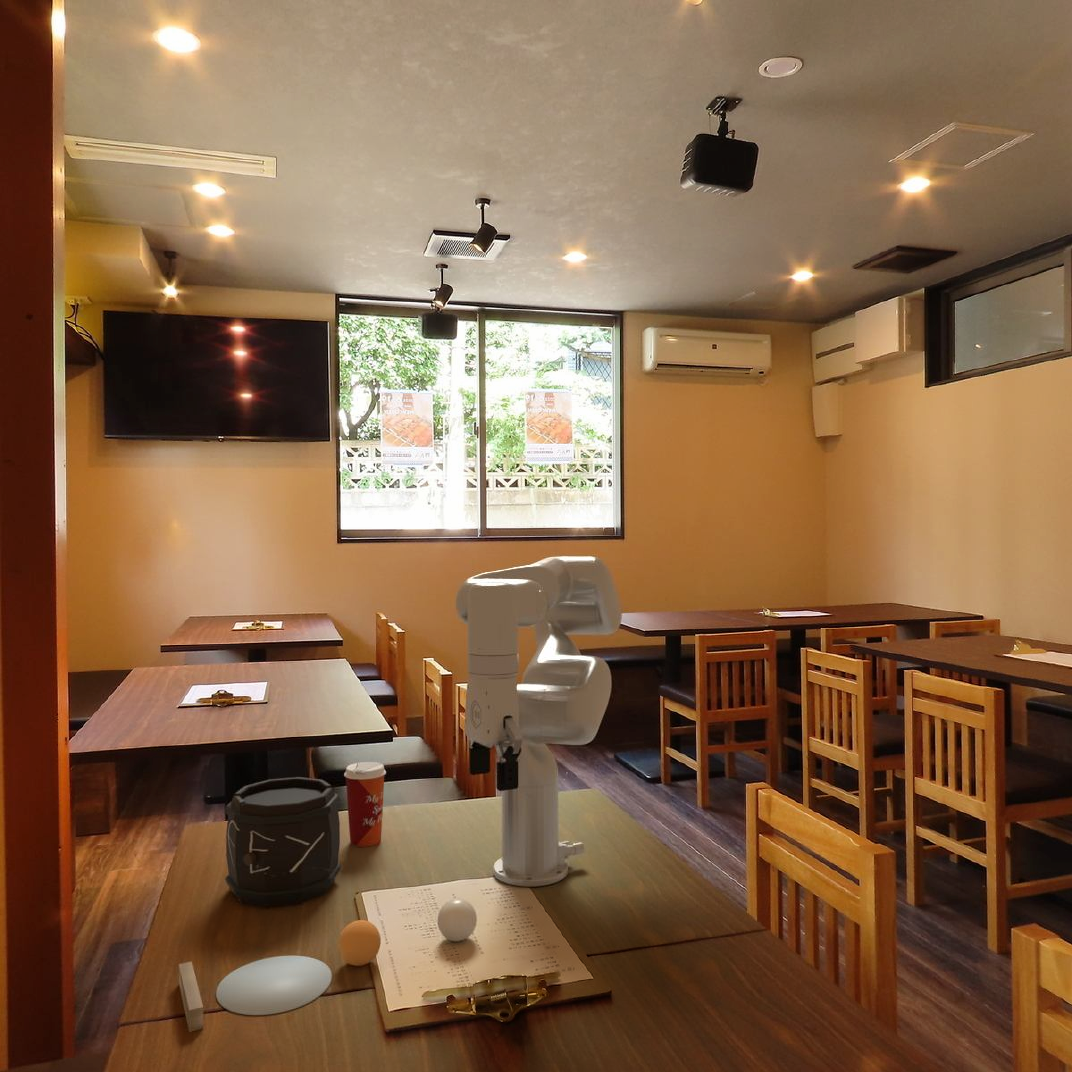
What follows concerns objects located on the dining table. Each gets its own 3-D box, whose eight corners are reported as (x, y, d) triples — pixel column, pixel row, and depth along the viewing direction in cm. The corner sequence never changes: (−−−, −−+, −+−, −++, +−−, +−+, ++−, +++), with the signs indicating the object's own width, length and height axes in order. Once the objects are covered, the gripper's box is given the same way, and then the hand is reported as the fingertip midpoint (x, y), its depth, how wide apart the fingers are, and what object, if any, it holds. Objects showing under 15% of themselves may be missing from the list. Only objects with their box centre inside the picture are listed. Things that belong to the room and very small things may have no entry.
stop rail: (191, 981, 109) (191, 961, 109) (203, 1028, 99) (203, 1006, 99) (179, 984, 109) (178, 964, 109) (189, 1032, 98) (189, 1010, 98)
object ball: (373, 949, 117) (373, 909, 117) (386, 967, 112) (386, 925, 112) (333, 959, 115) (333, 918, 115) (345, 977, 110) (344, 935, 110)
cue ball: (467, 927, 124) (467, 889, 124) (483, 942, 119) (482, 903, 119) (431, 935, 121) (431, 897, 121) (446, 952, 116) (446, 911, 116)
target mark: (317, 948, 118) (317, 946, 118) (344, 996, 106) (344, 994, 106) (209, 973, 111) (209, 971, 111) (225, 1027, 99) (225, 1025, 99)
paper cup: (377, 850, 154) (376, 773, 154) (337, 847, 156) (337, 771, 156) (393, 835, 162) (392, 761, 162) (355, 832, 164) (354, 759, 164)
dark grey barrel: (198, 903, 133) (197, 802, 133) (271, 861, 150) (270, 771, 150) (295, 920, 127) (294, 814, 127) (360, 874, 144) (359, 781, 144)
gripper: (447, 660, 133) (447, 771, 132) (494, 674, 117) (494, 799, 117) (491, 657, 136) (491, 765, 136) (542, 671, 121) (543, 792, 121)
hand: (493, 781), depth 126 cm, fingers open, 9 cm apart
